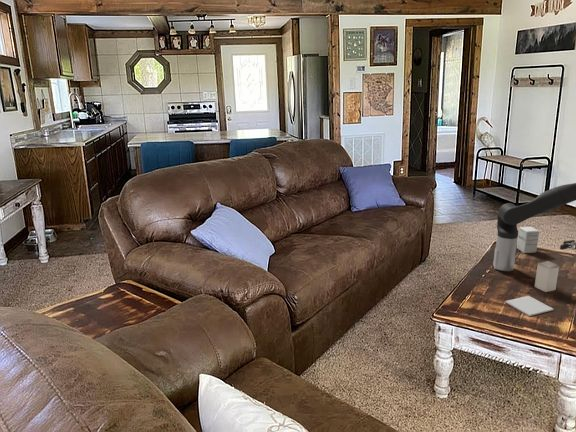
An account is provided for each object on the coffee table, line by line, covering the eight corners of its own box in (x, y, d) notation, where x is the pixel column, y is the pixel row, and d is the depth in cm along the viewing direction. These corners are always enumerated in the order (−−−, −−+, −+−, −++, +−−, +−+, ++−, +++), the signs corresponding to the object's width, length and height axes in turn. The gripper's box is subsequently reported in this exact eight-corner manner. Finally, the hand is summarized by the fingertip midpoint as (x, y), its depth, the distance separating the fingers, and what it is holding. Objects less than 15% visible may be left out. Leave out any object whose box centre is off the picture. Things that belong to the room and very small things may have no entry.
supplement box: (516, 248, 260) (519, 227, 256) (528, 247, 261) (531, 226, 257) (523, 253, 253) (526, 231, 249) (536, 252, 254) (539, 230, 250)
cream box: (545, 292, 210) (549, 267, 206) (534, 286, 215) (538, 262, 211) (555, 289, 211) (559, 265, 208) (544, 284, 217) (548, 260, 213)
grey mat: (529, 316, 190) (529, 314, 190) (505, 302, 202) (505, 301, 201) (553, 310, 194) (553, 308, 194) (528, 296, 206) (528, 295, 206)
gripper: (582, 232, 222) (556, 238, 217) (611, 242, 209) (584, 248, 204) (579, 247, 224) (554, 252, 219) (608, 257, 212) (582, 263, 206)
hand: (569, 250), depth 212 cm, fingers open, 8 cm apart
